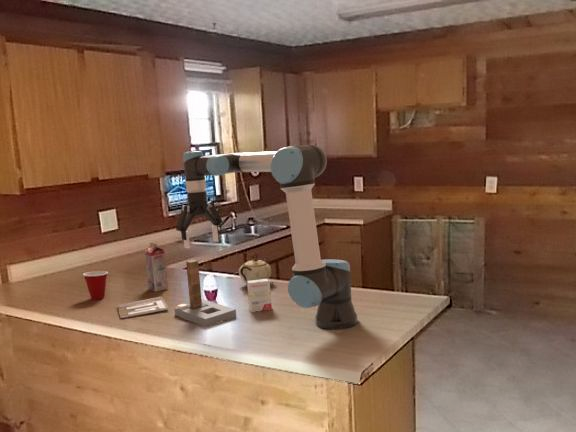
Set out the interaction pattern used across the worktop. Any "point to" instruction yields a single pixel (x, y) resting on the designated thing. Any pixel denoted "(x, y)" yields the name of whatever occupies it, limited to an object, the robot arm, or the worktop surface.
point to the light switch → (144, 303)
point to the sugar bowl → (255, 269)
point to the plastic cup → (96, 283)
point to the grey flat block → (205, 313)
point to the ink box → (259, 295)
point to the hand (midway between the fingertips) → (201, 244)
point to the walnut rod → (194, 283)
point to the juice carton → (156, 268)
